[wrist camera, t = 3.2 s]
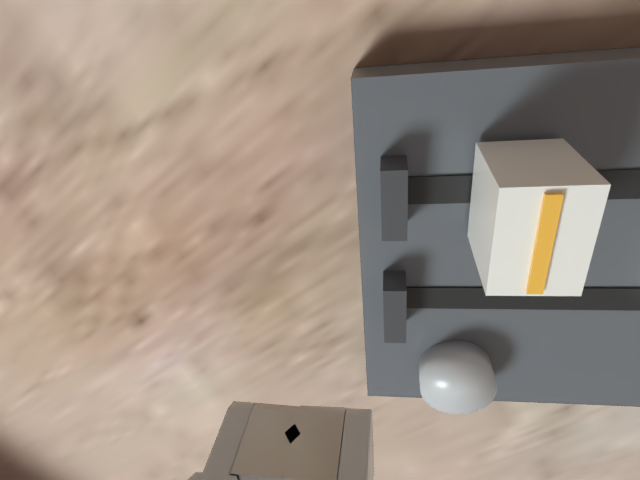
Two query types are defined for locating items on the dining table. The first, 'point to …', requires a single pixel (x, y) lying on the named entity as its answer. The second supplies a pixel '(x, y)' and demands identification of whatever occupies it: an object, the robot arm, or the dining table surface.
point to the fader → (534, 217)
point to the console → (452, 227)
